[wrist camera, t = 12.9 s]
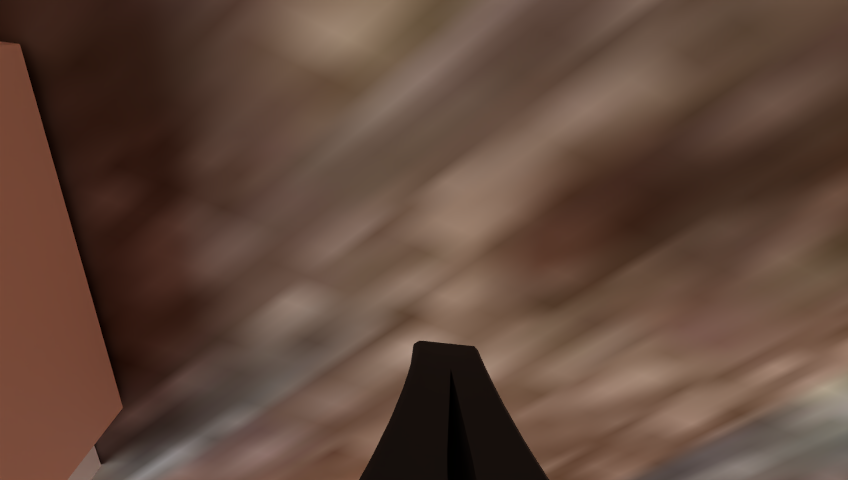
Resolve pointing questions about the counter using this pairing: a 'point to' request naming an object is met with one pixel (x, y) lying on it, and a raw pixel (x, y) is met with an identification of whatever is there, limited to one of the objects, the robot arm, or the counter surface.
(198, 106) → the counter surface
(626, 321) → the counter surface
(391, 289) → the counter surface
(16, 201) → the drawer
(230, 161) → the counter surface
